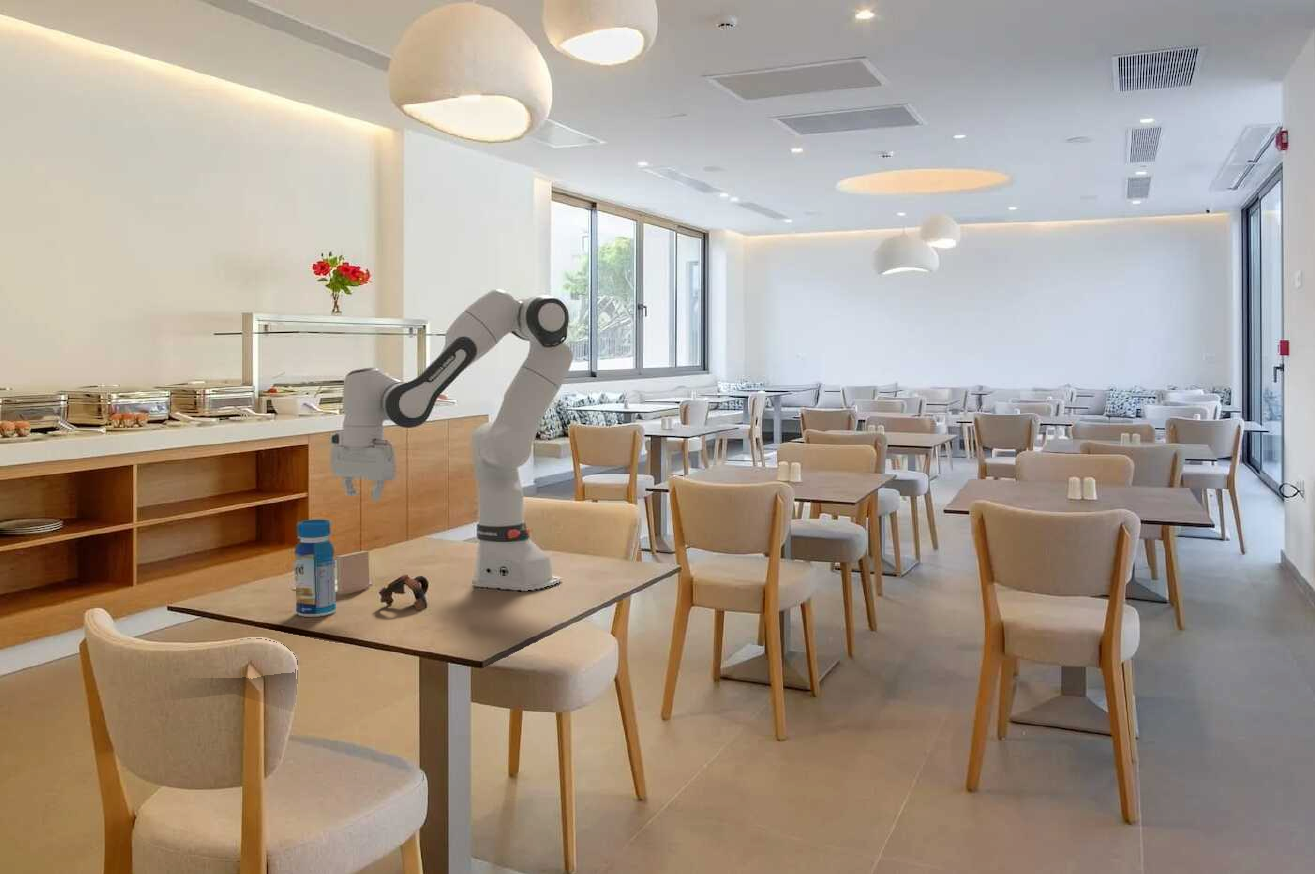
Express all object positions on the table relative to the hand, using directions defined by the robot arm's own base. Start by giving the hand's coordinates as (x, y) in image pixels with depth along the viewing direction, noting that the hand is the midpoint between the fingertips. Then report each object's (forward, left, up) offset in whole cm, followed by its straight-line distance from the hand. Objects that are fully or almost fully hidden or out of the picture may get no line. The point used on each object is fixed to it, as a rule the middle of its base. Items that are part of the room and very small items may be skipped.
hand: (363, 497), depth 230 cm
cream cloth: (+12, 0, -23) cm, 26 cm away
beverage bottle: (-5, +18, -23) cm, 29 cm away
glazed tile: (+5, 0, -23) cm, 23 cm away
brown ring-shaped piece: (-17, +3, -23) cm, 29 cm away
